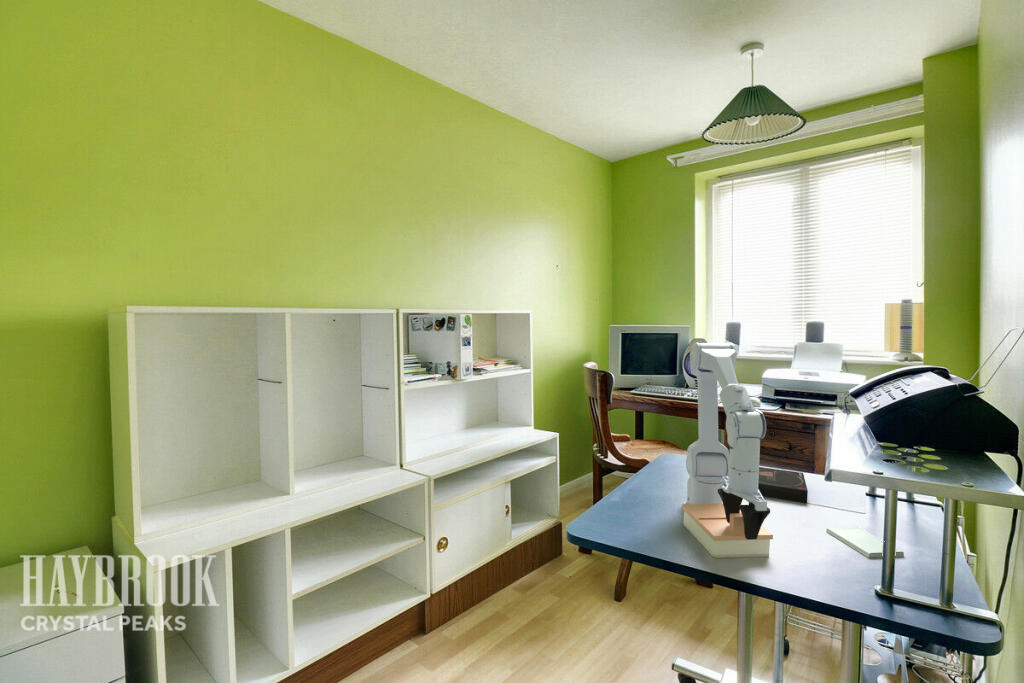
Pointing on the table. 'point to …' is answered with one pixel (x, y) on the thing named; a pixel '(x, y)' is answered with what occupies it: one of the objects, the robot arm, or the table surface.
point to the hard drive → (860, 541)
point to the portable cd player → (782, 484)
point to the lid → (720, 522)
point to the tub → (727, 543)
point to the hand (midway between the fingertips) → (741, 530)
